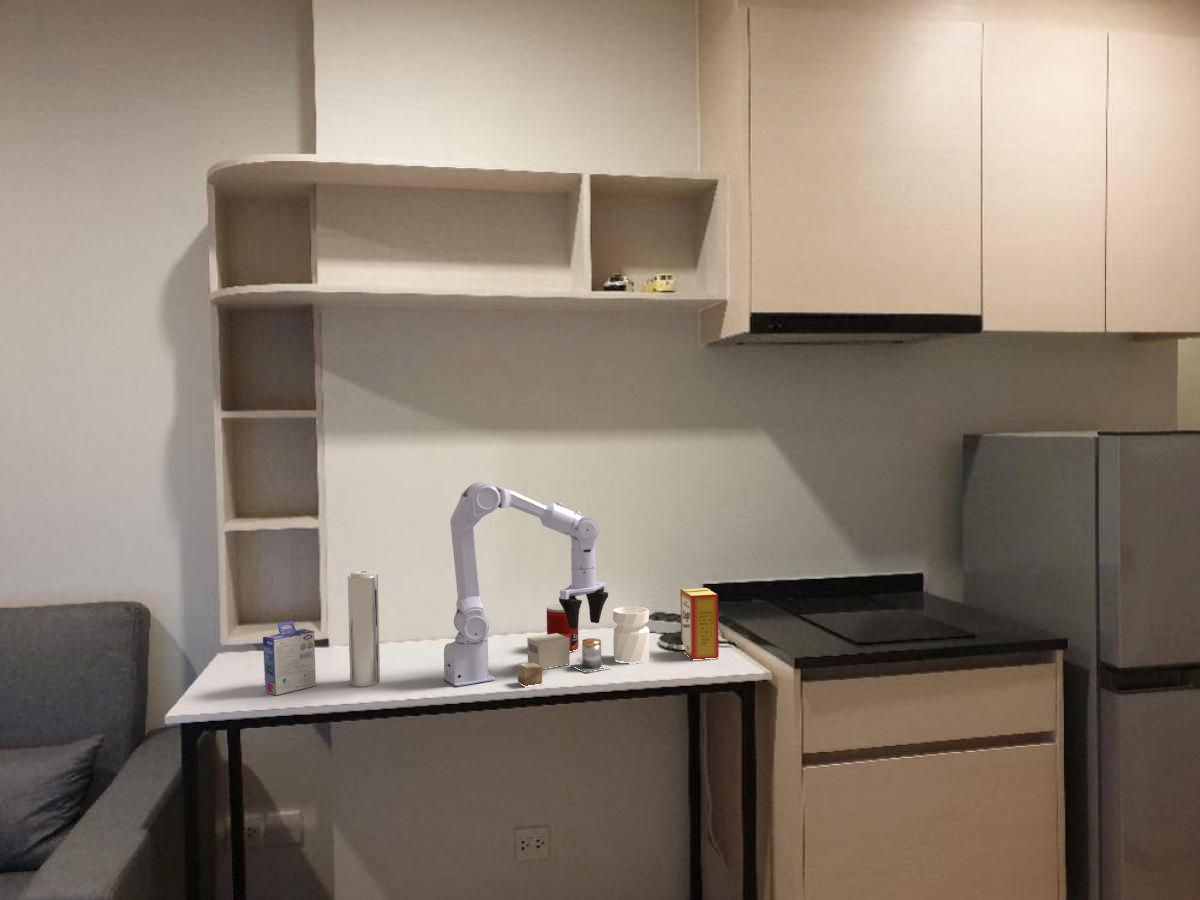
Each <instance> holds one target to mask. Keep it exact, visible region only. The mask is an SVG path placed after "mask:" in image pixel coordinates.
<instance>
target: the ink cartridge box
mask: <svg viewBox="0 0 1200 900" xmlns="http://www.w3.org/2000/svg"><path fill="white" fill-rule="evenodd" d="M284 626H291V627H287V628H283V627H284ZM277 628H278V633H276V634H271V635H265V636H262V648H263V649H262V651H263V665H264V667H263V668H264V671H263V672H264V686H265V687H264V689H265V690H264V691H266V693H268V694H270V693H271V694H270V695H273V696H279V695H282V694H287V693H290V692H291V693H292V692H295V691H299V690H304V689H307V688H311V687H315V686H317V681H316V652H315V651H316V650H315V631H314V630H309V629H306V628H300V629H296V627H295V624H294V621H293V620H290V621H285V622H284V621H282V622H279V623H277Z"/></svg>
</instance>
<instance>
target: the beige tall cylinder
mask: <svg viewBox="0 0 1200 900" xmlns="http://www.w3.org/2000/svg"><path fill="white" fill-rule="evenodd" d="M377 573H378V572H377V570H374V569H359V570H353V571H351V572H350V575H349V576H347V597H348V598H347V599H348V602H347V604H348V610H347V611H348V646H349V649H348V650H349V655H348V656H349V657H348V658H349V684H350V686H352V687H355V688H365V687H367V686H368V687H373V686H376V685H378V684H379V683H380V682H381V672H380V671H381V667H380V666H381V665H380V664H381V661H380V660H381V659H380V658H381V657H380V656H381V655H380V626H379V625H380V616H379V612H380V611H379V607H380V606H379V575H378V574H377ZM372 685H373V686H372ZM368 687H367V688H368Z"/></svg>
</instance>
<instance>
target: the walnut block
mask: <svg viewBox="0 0 1200 900" xmlns="http://www.w3.org/2000/svg"><path fill="white" fill-rule="evenodd" d="M518 682H520V683H521V684H523V685H525V686H528V685H535V684H541V683H542V684H543V670H542V667H541V666H539V665H537V664H536V663H534V662H533V663H528V662H527V663H521V664H520V665H517V683H518Z"/></svg>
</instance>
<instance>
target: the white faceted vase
mask: <svg viewBox="0 0 1200 900" xmlns="http://www.w3.org/2000/svg"><path fill="white" fill-rule="evenodd" d="M649 618H650V610H649V609H648V607H647V608H646V607H641V606H622V607H616V608H613V612H612V621H613V622H614V623H615V624H617V626H616V627H614V628H613V641H612V642H613V660H614V659H615V660H618V661H624V662H636V661H644V660H647V659H648V658H649V657H650V628H649V627H647V626H646V624H647V623H648V622H650V621H649ZM650 658H651V657H650ZM650 658H649V659H650ZM615 660H614V661H615Z"/></svg>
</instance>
